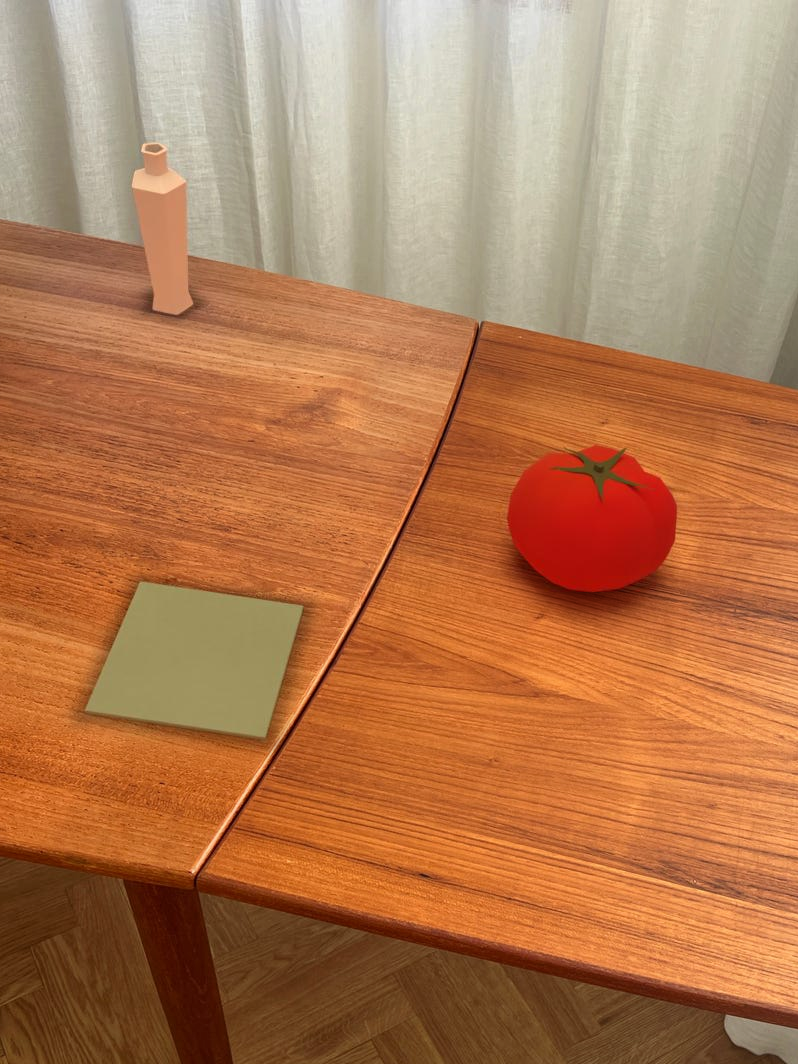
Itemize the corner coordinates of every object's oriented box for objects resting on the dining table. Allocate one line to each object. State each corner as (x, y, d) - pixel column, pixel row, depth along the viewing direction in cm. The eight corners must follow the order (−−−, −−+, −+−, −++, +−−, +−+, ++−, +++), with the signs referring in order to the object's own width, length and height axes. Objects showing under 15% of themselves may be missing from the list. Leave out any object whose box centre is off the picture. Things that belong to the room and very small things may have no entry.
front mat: (85, 715, 76) (84, 710, 75) (140, 586, 84) (139, 580, 83) (265, 742, 76) (265, 737, 75) (303, 610, 84) (303, 605, 83)
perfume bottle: (135, 301, 107) (113, 143, 96) (177, 287, 109) (160, 131, 98) (162, 325, 105) (142, 167, 94) (204, 310, 107) (189, 154, 96)
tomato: (661, 629, 86) (694, 530, 79) (494, 605, 86) (510, 504, 78) (660, 527, 94) (690, 428, 86) (506, 506, 93) (522, 404, 86)
